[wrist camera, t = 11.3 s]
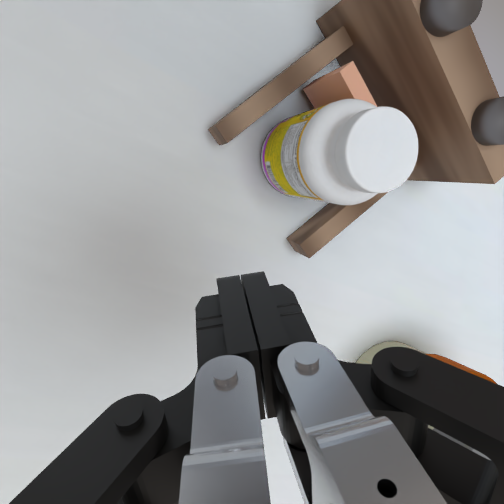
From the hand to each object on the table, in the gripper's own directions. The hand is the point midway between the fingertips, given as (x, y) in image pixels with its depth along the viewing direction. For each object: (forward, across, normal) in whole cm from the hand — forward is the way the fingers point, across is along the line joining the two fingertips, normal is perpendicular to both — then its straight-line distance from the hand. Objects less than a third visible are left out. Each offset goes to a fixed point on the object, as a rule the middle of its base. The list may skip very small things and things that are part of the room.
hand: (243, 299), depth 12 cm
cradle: (+23, +10, 0) cm, 25 cm away
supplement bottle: (+22, +7, -1) cm, 24 cm away
